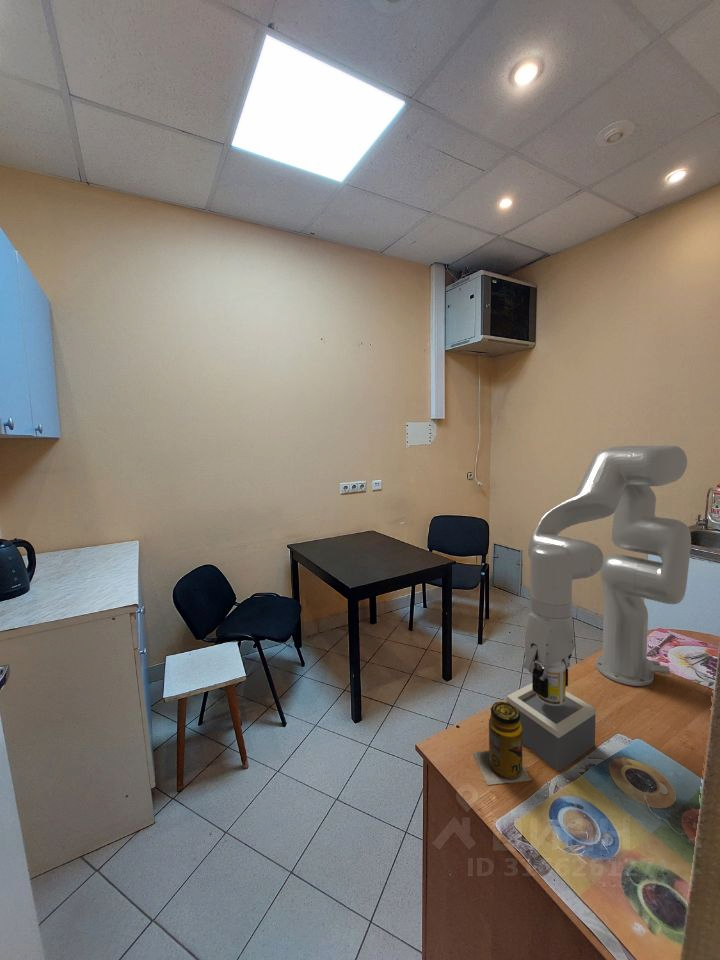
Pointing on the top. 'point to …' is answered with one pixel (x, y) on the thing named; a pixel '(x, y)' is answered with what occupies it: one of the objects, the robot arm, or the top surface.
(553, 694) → the supplement bottle
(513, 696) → the stand
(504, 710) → the condiment
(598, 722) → the top surface
